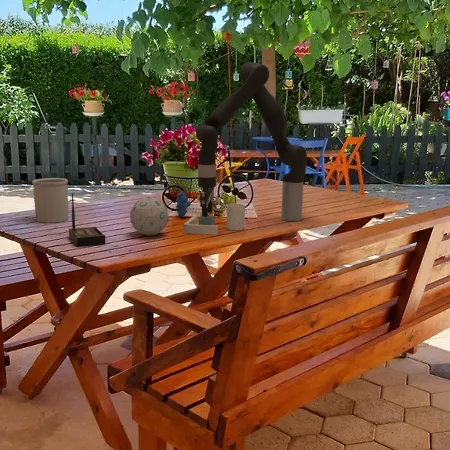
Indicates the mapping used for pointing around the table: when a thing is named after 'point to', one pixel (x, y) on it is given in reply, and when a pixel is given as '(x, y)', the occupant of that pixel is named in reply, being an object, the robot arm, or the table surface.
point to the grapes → (182, 204)
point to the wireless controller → (85, 234)
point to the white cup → (235, 216)
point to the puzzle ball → (149, 216)
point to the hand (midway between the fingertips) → (207, 214)
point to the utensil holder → (51, 199)
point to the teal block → (207, 220)
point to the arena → (199, 228)
